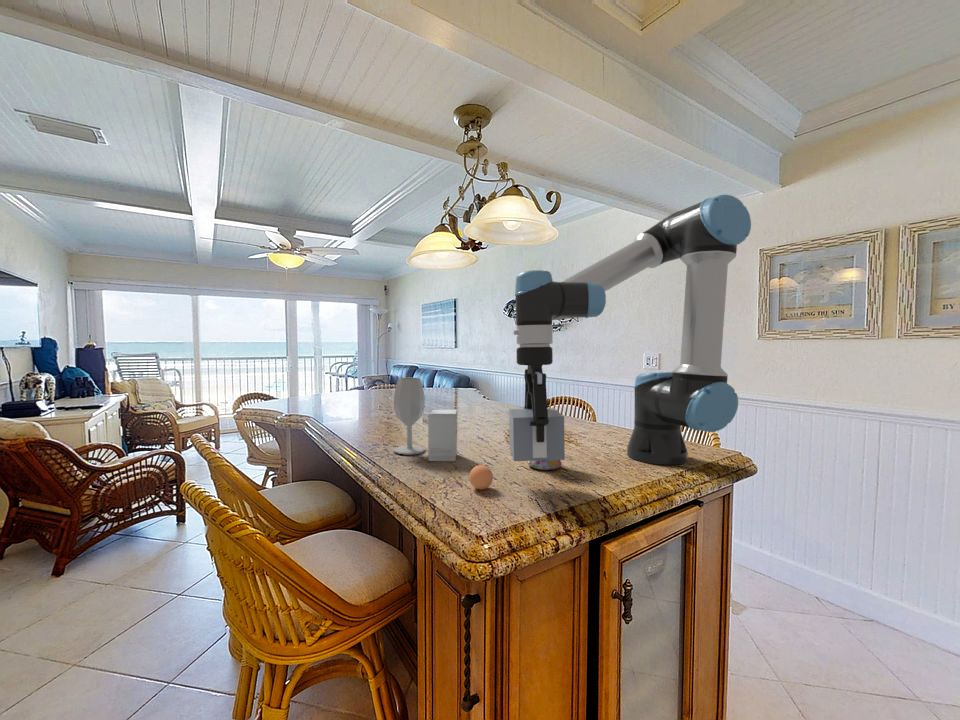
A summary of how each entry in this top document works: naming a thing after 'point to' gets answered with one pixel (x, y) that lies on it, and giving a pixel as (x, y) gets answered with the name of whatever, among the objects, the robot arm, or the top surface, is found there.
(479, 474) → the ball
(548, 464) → the mug
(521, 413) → the gray tilted carton
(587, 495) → the top surface
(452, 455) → the supplement box
